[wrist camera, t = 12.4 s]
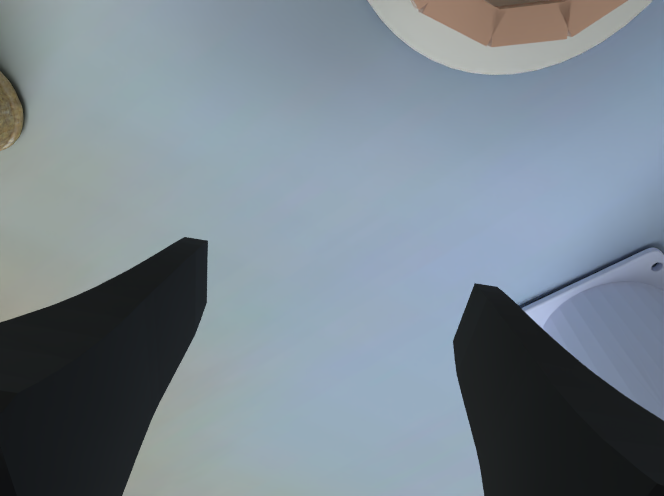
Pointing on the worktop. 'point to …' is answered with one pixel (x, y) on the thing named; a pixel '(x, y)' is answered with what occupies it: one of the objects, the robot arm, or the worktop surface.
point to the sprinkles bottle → (9, 114)
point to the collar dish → (499, 54)
